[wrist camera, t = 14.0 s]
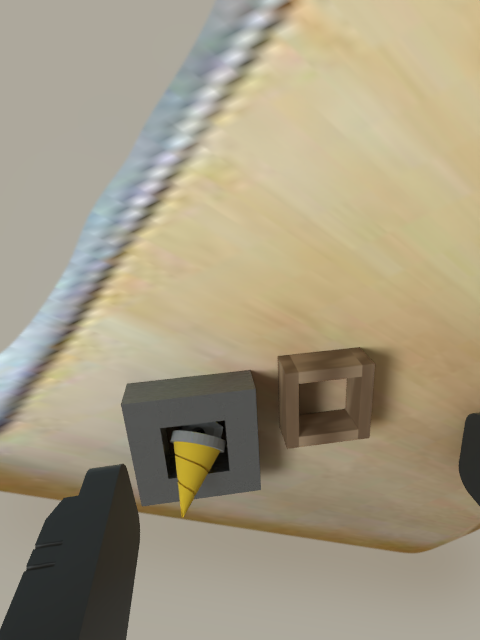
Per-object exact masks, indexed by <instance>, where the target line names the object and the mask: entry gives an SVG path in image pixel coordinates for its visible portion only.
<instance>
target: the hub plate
mask: <svg viewBox="0 0 480 640" xmlns="http://www.w3.org/2000/svg"><path fill="white" fill-rule="evenodd" d="M121 407H122V411H123V416H124V421H125V426H126V431H127V436H128V441H129V446H130V451H131V455H132V460H133V465H134V470H135V475H136V480H137V485H138V490H139V495H140V499H141V504H142V506H148V505H155V504H162V503H170V502H177V501H180V498H179V489H178V479H177V470H176V461H175V454H170V451H169V444H168V438H167V432H166V427H175V426H183V425H191V424H199V423H207V422H216V421H224V424H225V435H226V446H227V447H225V449H224V452H223V453H219V454H218V456H217V458H216V460H215V462H214V463H213V465H212V467H211V469H210V471H209V472H208V474H207V476H206V478H205V479H204V481H203V483H202V485H201V487H200V488H199V490H198V492H197V494H196V495H195V497H194V499H198V498H206V497H213V496H220V495H227V494H235V493H242V492H249V491H256V490H261V483H260V463H259V444H258V425H257V405H256V388H255V385H254V382H253V378H252V375H251V371H250V370H248V371H239V372H230V373H221V374H212V375H203V376H194V377H185V378H176V379H167V380H158V381H149V382H140V383H131V384H127V385H126V389H125V392H124V396H123V399H122V403H121Z"/></svg>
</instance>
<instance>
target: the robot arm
mask: <svg viewBox="0 0 480 640" xmlns="http://www.w3.org/2000/svg"><path fill="white" fill-rule="evenodd" d="M459 473H460V477H461V480H462V482H463V485H464V486H465V488H466V490H467V491H468V493H469V494H470V495H471V496H472V498H473V499H474V500H475V501H476V502H477V503H478V505H479V506H480V412H479V413H473V414H470V415H468V417H467V418H466V421H465V427H464V433H463V440H462V446H461V453H460V459H459ZM139 543H140V523H139V515H138V510H137V506H136V503H135V499H134V495H133V491H132V487H131V483H130V479H129V475H128V471H127V468H126V466H125V465H124V464H119V465H112V466H105V467H99V468H92V469H89V470H88V471H87V473H86V476H85V479H84V481H83V484H82V487H81V490H80V493H79V496H73V497H67V498H64V499H63V500H62V501H61V502H60V503H59V504H58V506H57V507H56V508H55V509H54V510H53V512H52V513H51V514H50V515H49V516H48V518H47V519H46V520H45V523H44V525H43V527H42V530H41V532H40V534H39V537H38V539H37V542H36V544H35V545H36V547H35V550H33V551H32V554H31V556H30V559H29V561H28V563H27V570H26V571H25V572H24V573H23V575H22V578H21V580H20V583H19V585H18V588H17V590H16V592H15V595H14V597H13V600H12V602H11V604H10V607H9V609H8V612H7V615H6V616H5V619H4V621H3V624H2V626H1V629H0V640H126V636H127V628H128V621H129V614H130V607H131V600H132V593H133V586H134V579H135V571H136V565H137V557H138V550H139Z"/></svg>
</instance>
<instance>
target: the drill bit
mask: <svg viewBox="0 0 480 640" xmlns="http://www.w3.org/2000/svg"><path fill="white" fill-rule="evenodd" d="M200 429H203V430H204V431H205V434H202V433H197V432H196V431H197V430H200ZM222 431H223V426H221V425H220V424H218V423H217V422H207V423H199V424H191V425H183V426H180V428H179V430H176V431H172V435H171V439H170V442H171V443H172V444H174V451H175V461H176V470H177V479H178V489H179V498H180V506H181V517H184V515H185V513H186V512H187V510H188V508H189V506H190V504H191V503H192V501H193V499H194V497H195V495H196V494H197V492H198V490H199V488H200V487H201V485H202V483H203V481H204V479H205V478H206V476H207V474H208V472H209V471H210V469H211V467H212V465H213V463H214V462H215V460H216V458H217V456H218V454H219V453H223V452H224V449H225V443H226V441H224V440H223V439H221V436H222Z"/></svg>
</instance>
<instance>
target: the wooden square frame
mask: <svg viewBox="0 0 480 640" xmlns="http://www.w3.org/2000/svg"><path fill="white" fill-rule="evenodd" d="M374 373H375V363H374V362H373V361H372V360H371V359H370V358H369V357H368V355H367V354H366V353H365V352H364V351H363V350H362V349H361V348H360V347H359V348H350V349H341V350H332V351H323V352H313V353H304V354H295V355H286V356H278V387H279V425H280V429H281V432H282V435H283V438H284V441H285V444H286V447H287V449H288V448H296V447H303V446H311V445H319V444H327V443H334V442H342V441H350V440H357V439H365V438H369V436H370V423H371V411H372V398H373V385H374ZM345 378H347V388H346V408H345V409H343V410H334V411H326V412H318V413H310V414H302V415H299V384H302V383H311V382H319V381H328V380H337V379H345Z"/></svg>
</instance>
